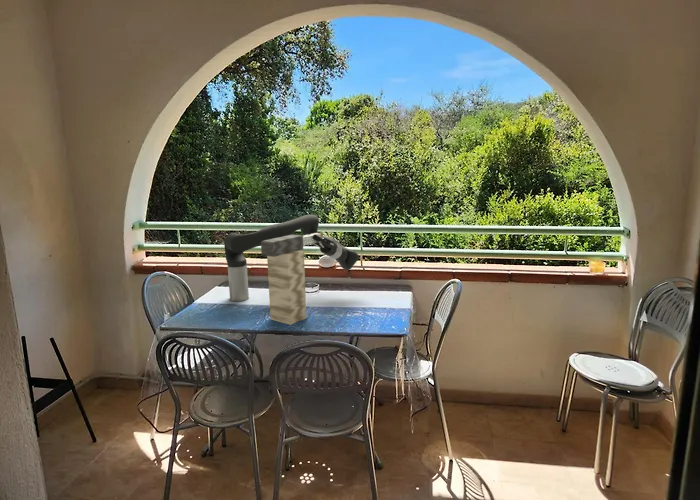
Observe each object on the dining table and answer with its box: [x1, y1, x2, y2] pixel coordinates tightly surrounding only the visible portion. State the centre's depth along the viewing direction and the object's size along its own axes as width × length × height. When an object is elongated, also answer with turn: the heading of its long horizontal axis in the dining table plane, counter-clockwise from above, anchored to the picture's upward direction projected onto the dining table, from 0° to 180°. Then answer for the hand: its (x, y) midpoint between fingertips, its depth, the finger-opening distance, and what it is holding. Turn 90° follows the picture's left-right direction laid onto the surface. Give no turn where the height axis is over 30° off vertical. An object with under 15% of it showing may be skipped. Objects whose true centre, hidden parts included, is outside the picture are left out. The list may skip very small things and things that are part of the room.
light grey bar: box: [302, 232, 323, 247], centre depth 200 cm, size 24×4×4 cm, turn 144°
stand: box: [260, 234, 307, 326], centre depth 193 cm, size 19×12×36 cm, turn 144°
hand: (310, 235), depth 204 cm, fingers closed on light grey bar, 3 cm apart
